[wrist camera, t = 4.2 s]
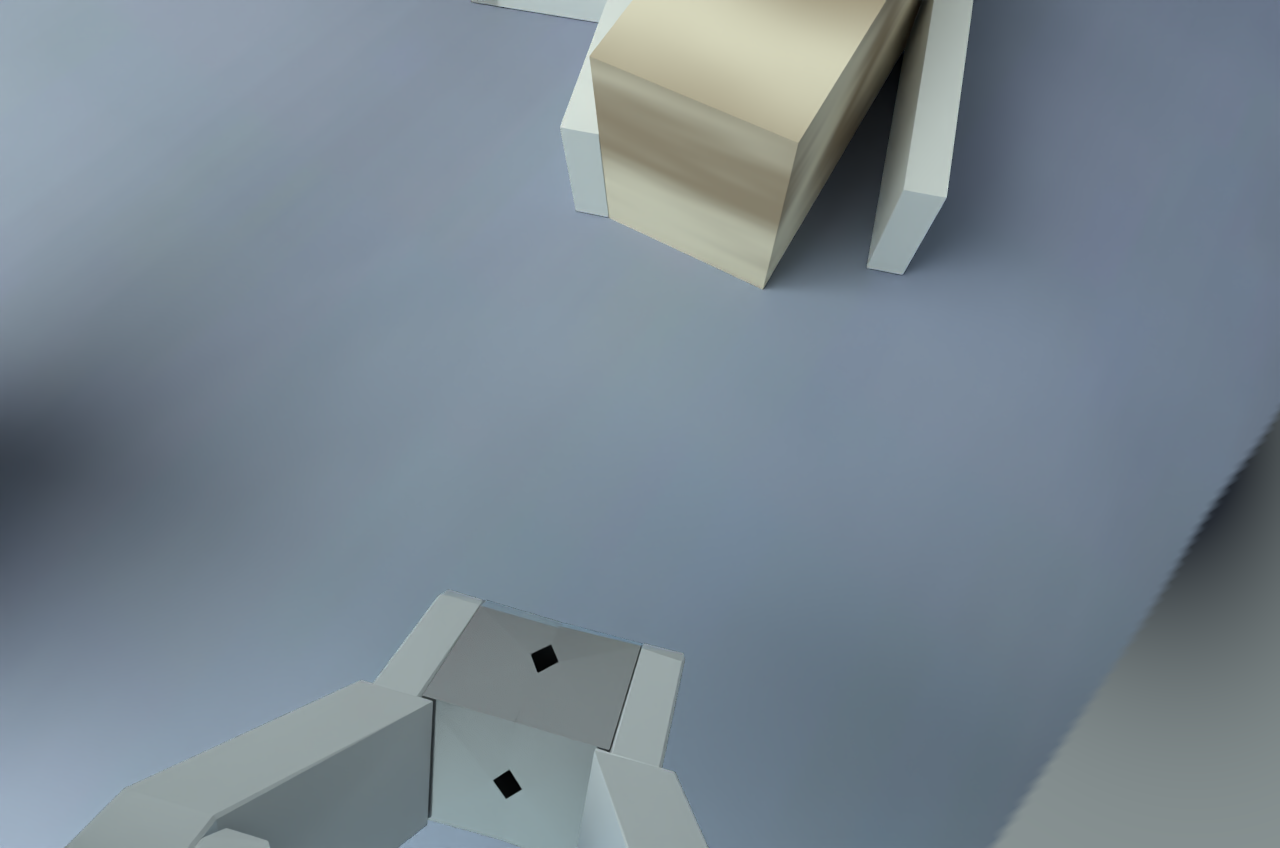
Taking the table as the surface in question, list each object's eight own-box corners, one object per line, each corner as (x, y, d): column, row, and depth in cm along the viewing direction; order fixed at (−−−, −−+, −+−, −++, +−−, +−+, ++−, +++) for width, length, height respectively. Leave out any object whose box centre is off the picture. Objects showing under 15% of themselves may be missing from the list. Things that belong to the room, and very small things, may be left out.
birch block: (762, 291, 24) (798, 142, 17) (609, 220, 25) (589, 56, 19) (903, 52, 27) (977, -148, 21) (762, -1, 29) (790, -205, 22)
